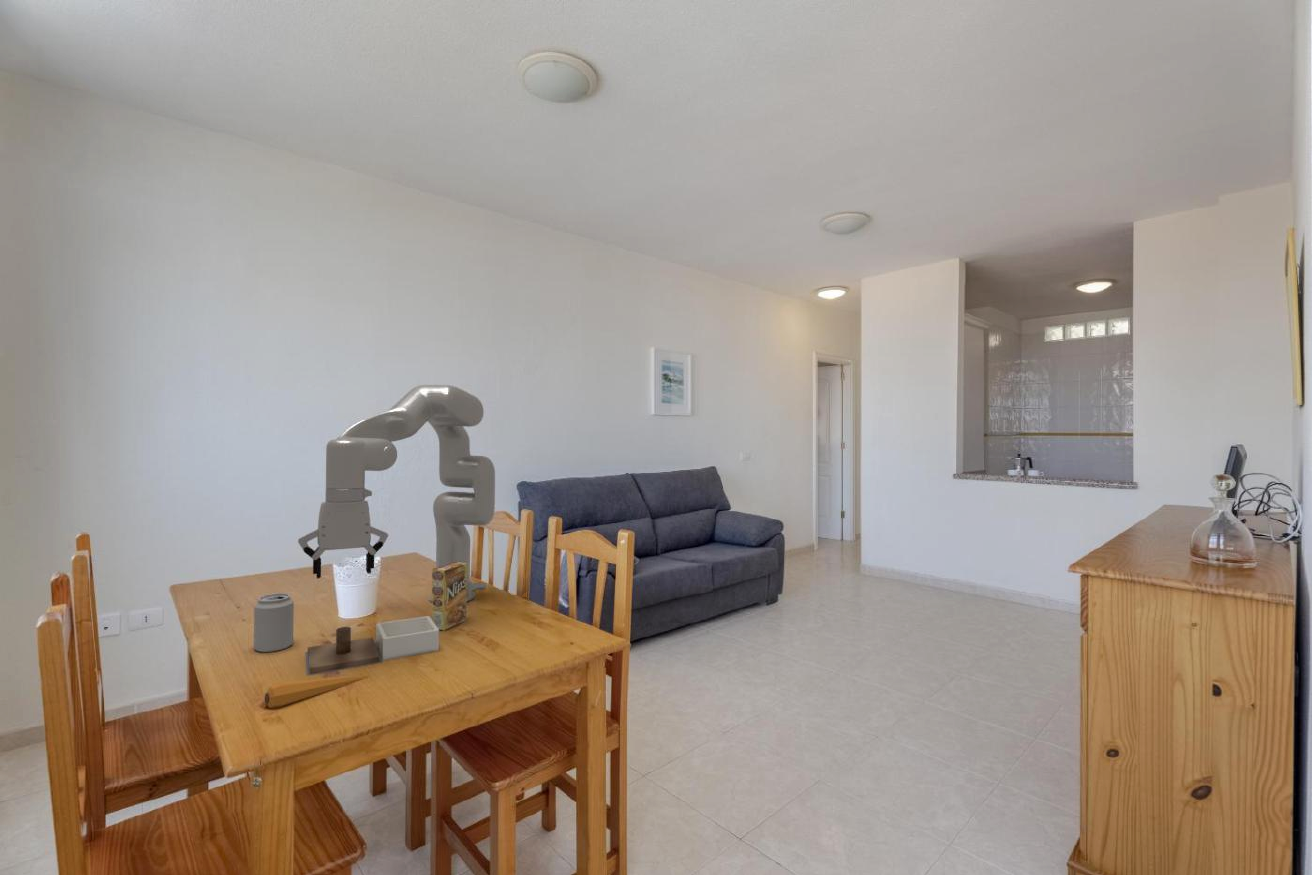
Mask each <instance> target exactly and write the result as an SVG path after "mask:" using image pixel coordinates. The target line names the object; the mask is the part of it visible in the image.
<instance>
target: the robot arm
mask: <svg viewBox="0 0 1312 875" xmlns="http://www.w3.org/2000/svg"><path fill="white" fill-rule="evenodd" d="M484 412H485V411H484V407H483V404H482V402H481V400H480V399H479V398H478V397H477V396H475V395H473V394H471V393H469V392H468V391H465V390H463V389H461V388H459V387H457V386H454V385H450V384H421V385H417V386H415V387H413V388H412V389H411V390H409V391H408V392H407V393H406V394H405V395H404V396H403V397H402V398H400V399H399V400H398V401H397V402H396V403H395V404H394V405H393V406H391V408H389V409H388V410H385V411H383V412H380V413H377V414H375V415H372V416H370V417H367V418H364V419H362V420H361V421H358V422H356V423H353V424H352V425H350V427H348V428H347V429H346V430H344V431H343V432H342V433H341V434H340V435H339V436H338V437H336V439H331V440H329V441H328V442H327V444H326V446H325V447H326V448H325V449H326V452H325V456H326V457H325V460H326V461H325V501H324V502H321V504H320V508H319V513H318V520H317V522H318V523H317V528H316V529H315V530H313V531H312V532H309V533H307V534H306V535H303V536H301V537H300V538H298V540H297V543H298V544H299V546H300V548H301V549H302V551H303V553H305V554H306V555H307V556H308V557H309V558H311V559H312V574H313V575H316V579H320V578H322V559H321V556H322V555H323V553H325V551H335V550H347V549H348V550H349V549H360V548H364V549H365V550H366V551H367V553H366V554H365V555H366V558H365V571H366V573H367V574H369V575H370V574H371V573H372V570H373V569H375V555H376V554H377V552H378V551H380V550H381V549H382V547H383V546H384V544H385V543H386V542H387V539H388V537H389V534H388V533H387V532H386V531H383V530H382V529H378V528H376V527H374V526H371V515H370V506H369V501H368V500H366V498H368V497H372V496H373V490H372V489H367V488H366V485H365V484H366V478H365V477H366V471H367V472H368V471H369V472H382V471H386V470H388V469H390V468H392V467H393V466H394V465H395V463H396V462H397V458H398V450H397V447H396V446H395V445H394V443H393V442H397V441H402V440H404V439H407V438H408V439H409V438H411V437H413V436H414V435H416V434H417V433H418V431H419V430H421V428H422V427H423V426H424V425H425V424H426V423H427V422H428V423H429V425H430V426H431V427H432V429H433V430H434V431H435V434H436V435H437V438H438V442H439V443H438V444H439V445H438V446H439V447H438V448H439V455H438V456H439V458H438V460H439V462H438V463H439V467H438V468H439V469H438V470H439V471H438V472H439V473H438V474H439V480H440V483H441V484H442V485H443V486H444V487H450V488H459V489H460V488H462V489H463V488H466V489H473V492H467V491H446V492H441V493H440V494H439V495H437V496H436V497H435V499H434V501H433V504H432V511H433V512H432V513H433V519H434V522H435V533H436V535H435V538H436V546H435V568H438V567H441V566H444V565H447V564H451V563H453V562H460V563H467V602H469V601H471V600H473V599H475V596H476V593H475V592H476V591H478V590H479V591H480V590H486V589H487V584H486V582H472V581H471V577H470V576H471V574H470V572H471V537H470V533H469V532H468V530H467V527H466V526H478V527H479V526H480V527H481V526H486V525H488V524H490V523H491V522H492V521H493V518H494V516H495V510H496V509H495V508H496V507H495V504H496V471H495V470H496V469H495V466H494V463H493V462H492V460H491V458H488V457H487V456H484V455H471V450H470V448H471V447H470V445H471V444H470V443H471V442H470V441H471V440H470V436H469V434H468V432H467V430H466V429H465V427H469V428H470V427H476V426H477V425H479V424H480V423H481V422H482V420H483V417H484ZM372 535H375V536H377V537H379V539H378V541H376V542H375V544H373V545H371V541H372ZM315 538H317V545H318V547H317V548H315V550H314V549H313V548H311V546H310V545H309V544H308V542H310V541H312V540H314V539H315ZM429 601H430V602H432V593H431V594H430V595H429Z"/></svg>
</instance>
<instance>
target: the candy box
mask: <svg viewBox="0 0 1312 875" xmlns="http://www.w3.org/2000/svg"><path fill="white" fill-rule="evenodd" d="M431 574H432V575H431V577H432V578H431V594H432V601H431V619H432V621H433V622H434V624H435V625H436V627H437V628H438V629H439V631H443V632H444V631H446V630H448V629H450V628H452V627H455V626H456V625H460V624H461V623H464V622H467V603H468V601H467V563H460V562H453V563H451V564H447V565H444V566H441V567H438V568H436V567H435V568H432V570H431Z"/></svg>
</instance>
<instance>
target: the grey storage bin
mask: <svg viewBox="0 0 1312 875" xmlns="http://www.w3.org/2000/svg"><path fill="white" fill-rule="evenodd" d="M375 627H376V628H375V629H376V634H375V639H376V640H375V644H376V646H377V649H378V652H379V654H380V657H381V660H382V661H388V660H393V659H400V658H405V657H411V656H417V655H423V654H428V653H433V652H439V651H440V647H439V646H440V630H439V629H438V628H437V627H436V625H435V624H434V622H433V621H432V617H431V616H430V615H426V616H425V615H424V616H418V617H411V618H405V619H395V620H389V621H382V622H377V623H376V626H375Z"/></svg>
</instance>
